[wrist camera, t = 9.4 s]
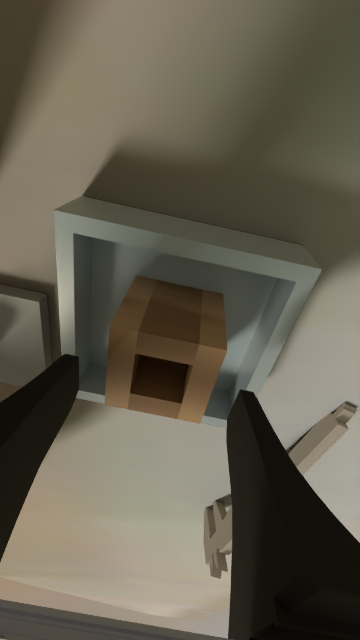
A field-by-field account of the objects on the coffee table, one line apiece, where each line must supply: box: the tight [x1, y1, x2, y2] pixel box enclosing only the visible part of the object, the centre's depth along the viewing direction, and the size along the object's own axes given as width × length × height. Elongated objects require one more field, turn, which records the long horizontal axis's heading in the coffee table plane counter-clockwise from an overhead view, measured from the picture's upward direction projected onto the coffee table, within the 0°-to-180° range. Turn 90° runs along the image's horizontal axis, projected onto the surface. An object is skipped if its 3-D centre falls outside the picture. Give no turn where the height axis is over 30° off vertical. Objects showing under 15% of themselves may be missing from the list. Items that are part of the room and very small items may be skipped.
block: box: [104, 275, 227, 424], centre depth 15 cm, size 5×5×5 cm
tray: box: [54, 196, 322, 428], centre depth 17 cm, size 12×12×3 cm
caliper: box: [204, 403, 356, 579], centre depth 24 cm, size 20×1×6 cm, turn 153°
